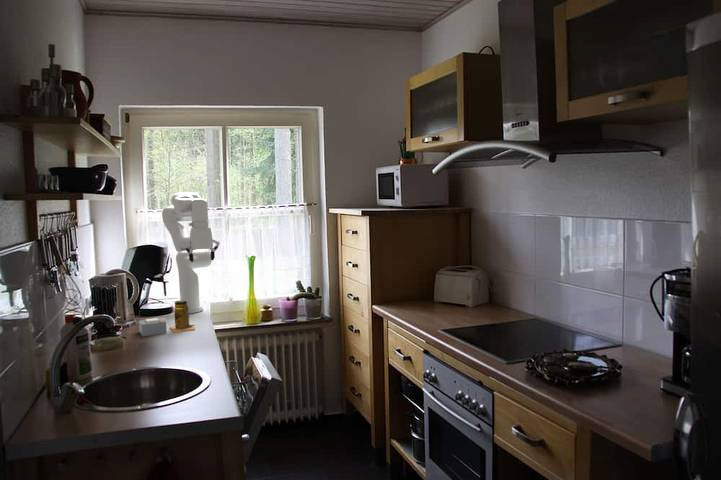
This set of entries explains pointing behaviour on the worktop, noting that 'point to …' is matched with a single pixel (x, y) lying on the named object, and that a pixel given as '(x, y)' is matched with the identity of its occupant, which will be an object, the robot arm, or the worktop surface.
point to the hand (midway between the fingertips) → (202, 260)
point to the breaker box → (152, 327)
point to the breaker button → (152, 320)
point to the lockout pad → (181, 329)
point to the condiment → (181, 315)
